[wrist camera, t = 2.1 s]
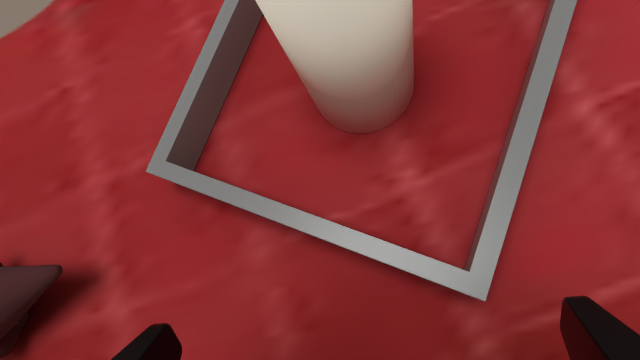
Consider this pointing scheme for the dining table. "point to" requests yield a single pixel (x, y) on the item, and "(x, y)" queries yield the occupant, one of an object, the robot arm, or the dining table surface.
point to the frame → (178, 167)
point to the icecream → (21, 298)
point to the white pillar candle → (349, 56)
